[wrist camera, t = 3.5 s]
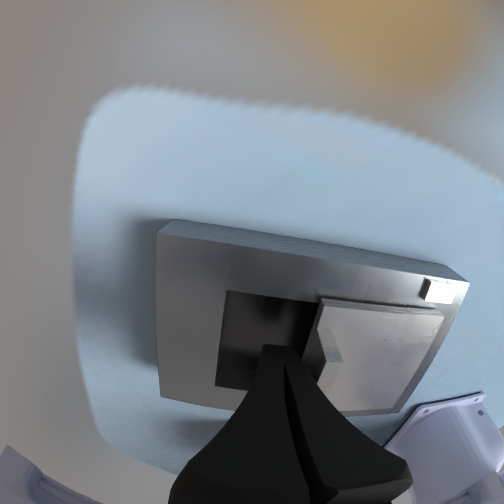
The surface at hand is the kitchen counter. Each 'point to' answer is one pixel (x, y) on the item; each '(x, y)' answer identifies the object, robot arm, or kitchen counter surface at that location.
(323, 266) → the socket plate
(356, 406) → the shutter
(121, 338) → the kitchen counter surface
